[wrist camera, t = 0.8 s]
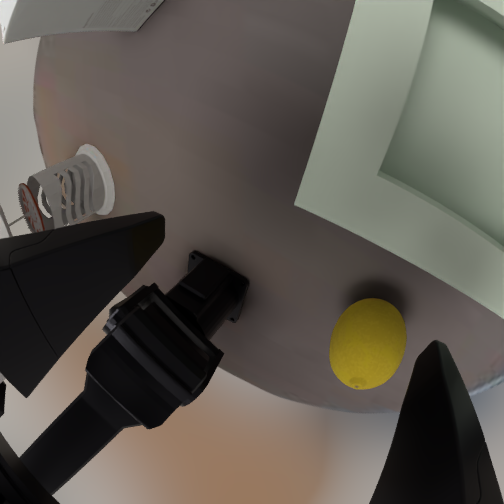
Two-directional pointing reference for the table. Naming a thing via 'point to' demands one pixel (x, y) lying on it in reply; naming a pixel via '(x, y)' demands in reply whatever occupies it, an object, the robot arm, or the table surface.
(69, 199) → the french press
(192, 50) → the table surface
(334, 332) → the lemon
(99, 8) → the small box
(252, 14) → the table surface
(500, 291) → the pale green square tray
